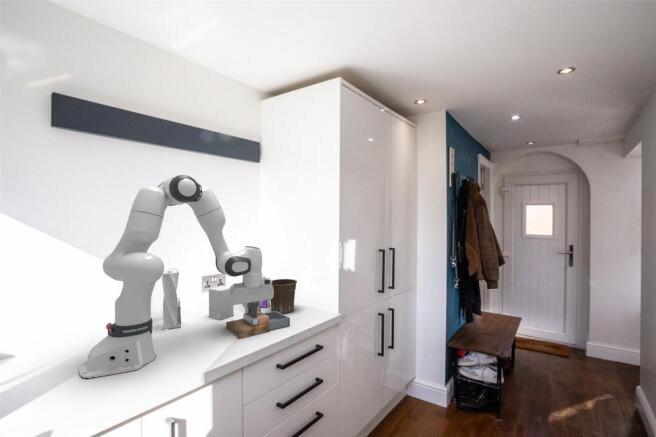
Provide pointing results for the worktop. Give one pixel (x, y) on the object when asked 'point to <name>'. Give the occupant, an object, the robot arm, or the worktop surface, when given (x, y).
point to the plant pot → (283, 295)
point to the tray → (277, 320)
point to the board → (245, 328)
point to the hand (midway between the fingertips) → (252, 311)
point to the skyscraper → (171, 300)
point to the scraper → (251, 314)
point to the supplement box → (220, 303)
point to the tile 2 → (263, 319)
